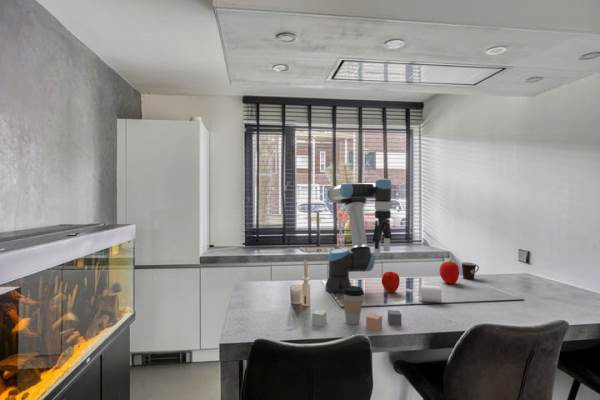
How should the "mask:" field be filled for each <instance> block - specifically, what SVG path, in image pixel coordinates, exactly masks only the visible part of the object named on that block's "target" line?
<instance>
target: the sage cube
mask: <svg viewBox="0 0 600 400" xmlns="http://www.w3.org/2000/svg"><path fill="white" fill-rule="evenodd" d="M325 324H327V310H320V309H315V310H313V312H312V313H311V325H312V326H318V327H324V326H325Z"/></svg>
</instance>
